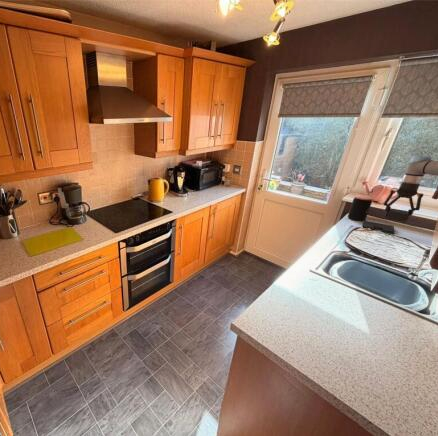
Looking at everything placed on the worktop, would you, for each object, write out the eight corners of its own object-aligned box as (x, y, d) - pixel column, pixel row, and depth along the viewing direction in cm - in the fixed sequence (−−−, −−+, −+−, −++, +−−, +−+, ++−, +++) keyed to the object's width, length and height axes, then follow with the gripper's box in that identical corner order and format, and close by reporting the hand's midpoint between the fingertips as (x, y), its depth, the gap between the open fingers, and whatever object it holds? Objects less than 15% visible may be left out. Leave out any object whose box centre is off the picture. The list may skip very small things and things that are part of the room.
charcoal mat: (393, 234, 153) (394, 231, 153) (362, 228, 163) (362, 225, 163) (392, 228, 163) (393, 225, 162) (362, 222, 173) (363, 220, 172)
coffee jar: (366, 222, 173) (374, 199, 166) (348, 220, 178) (355, 197, 172) (363, 218, 181) (371, 196, 175) (346, 215, 187) (353, 194, 180)
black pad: (405, 222, 139) (408, 214, 137) (386, 218, 144) (389, 211, 142) (403, 216, 146) (406, 209, 145) (386, 214, 151) (389, 206, 150)
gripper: (436, 184, 132) (419, 220, 140) (386, 179, 145) (373, 212, 153) (439, 186, 126) (421, 224, 135) (386, 181, 139) (373, 215, 148)
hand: (395, 218), depth 144 cm, fingers closed on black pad, 8 cm apart
